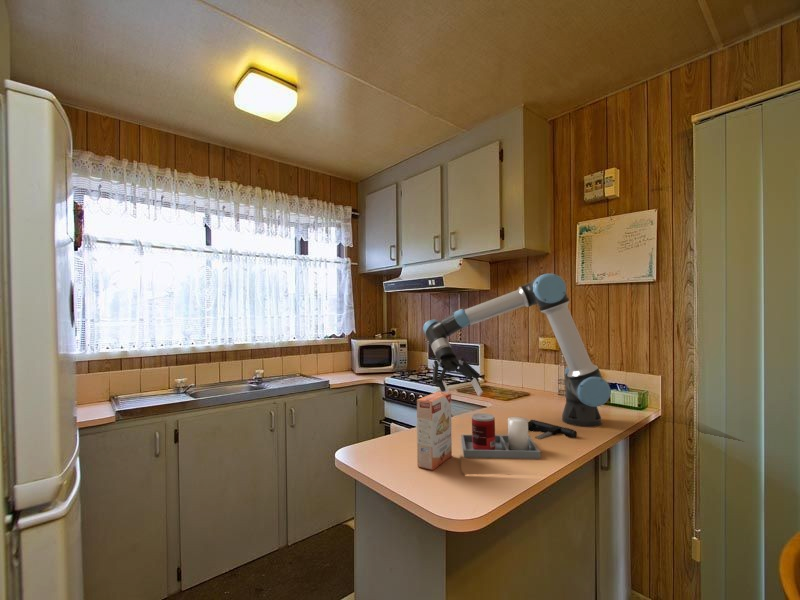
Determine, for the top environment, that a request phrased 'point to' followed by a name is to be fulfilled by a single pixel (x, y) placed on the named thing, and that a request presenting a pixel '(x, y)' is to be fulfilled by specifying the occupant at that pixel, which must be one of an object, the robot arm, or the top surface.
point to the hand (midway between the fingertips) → (465, 396)
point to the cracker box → (434, 430)
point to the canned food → (483, 431)
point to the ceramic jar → (518, 434)
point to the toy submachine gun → (549, 429)
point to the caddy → (499, 449)
